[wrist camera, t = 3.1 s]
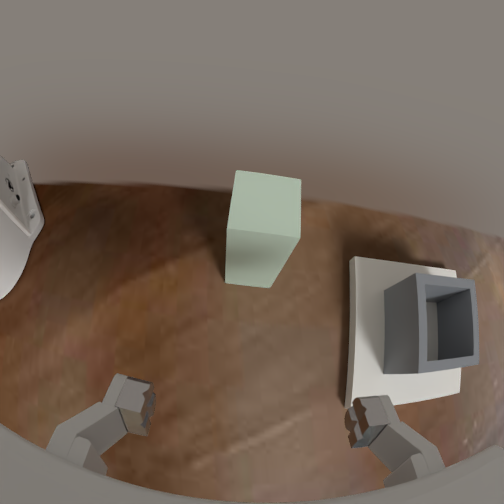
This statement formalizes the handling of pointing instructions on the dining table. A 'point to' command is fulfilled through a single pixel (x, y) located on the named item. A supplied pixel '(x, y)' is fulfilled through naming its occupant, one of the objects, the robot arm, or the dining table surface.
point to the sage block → (261, 227)
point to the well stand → (409, 331)
